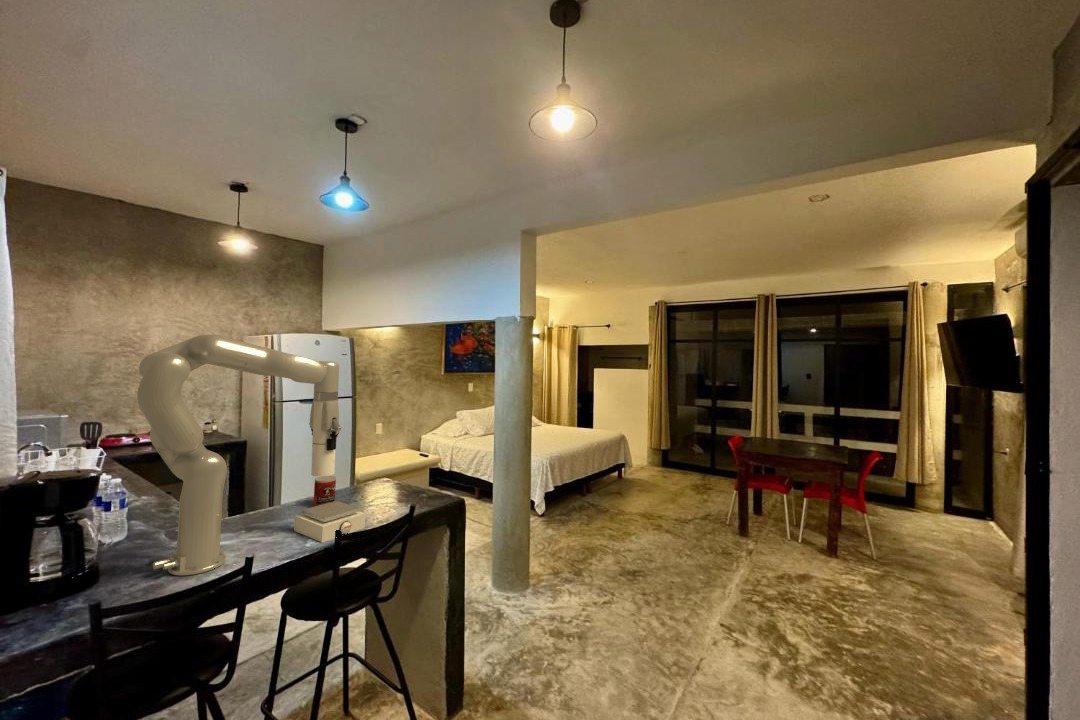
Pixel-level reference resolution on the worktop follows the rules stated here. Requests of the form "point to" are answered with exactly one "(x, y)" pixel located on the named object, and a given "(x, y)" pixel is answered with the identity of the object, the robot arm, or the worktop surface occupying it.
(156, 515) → the worktop surface
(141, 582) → the worktop surface
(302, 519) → the scale base
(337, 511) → the scale pan
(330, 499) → the canned food
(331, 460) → the cylindrical container
